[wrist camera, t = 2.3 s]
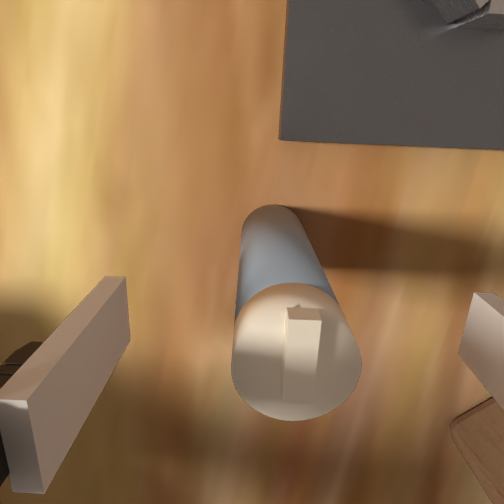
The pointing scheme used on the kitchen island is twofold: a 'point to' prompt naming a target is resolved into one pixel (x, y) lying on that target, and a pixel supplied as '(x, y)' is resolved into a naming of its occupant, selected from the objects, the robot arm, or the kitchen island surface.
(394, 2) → the base plate
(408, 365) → the kitchen island surface
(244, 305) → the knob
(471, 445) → the wooden block
